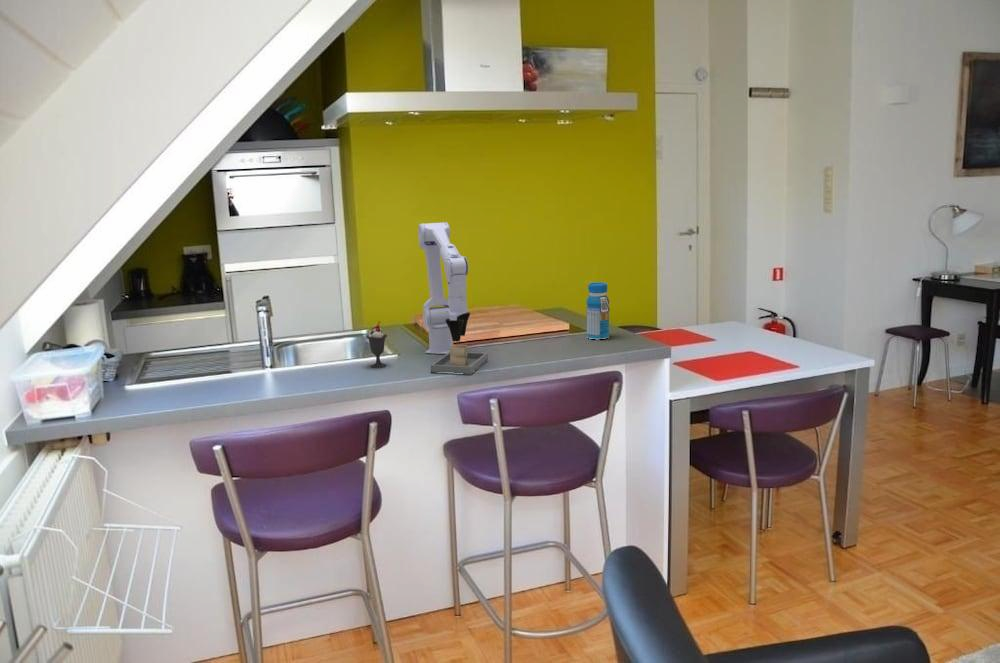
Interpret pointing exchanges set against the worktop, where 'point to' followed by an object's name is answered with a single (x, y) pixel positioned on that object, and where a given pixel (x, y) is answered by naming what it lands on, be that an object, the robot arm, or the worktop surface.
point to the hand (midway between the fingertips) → (459, 338)
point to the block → (458, 355)
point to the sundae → (377, 344)
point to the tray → (472, 364)
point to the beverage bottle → (597, 311)
